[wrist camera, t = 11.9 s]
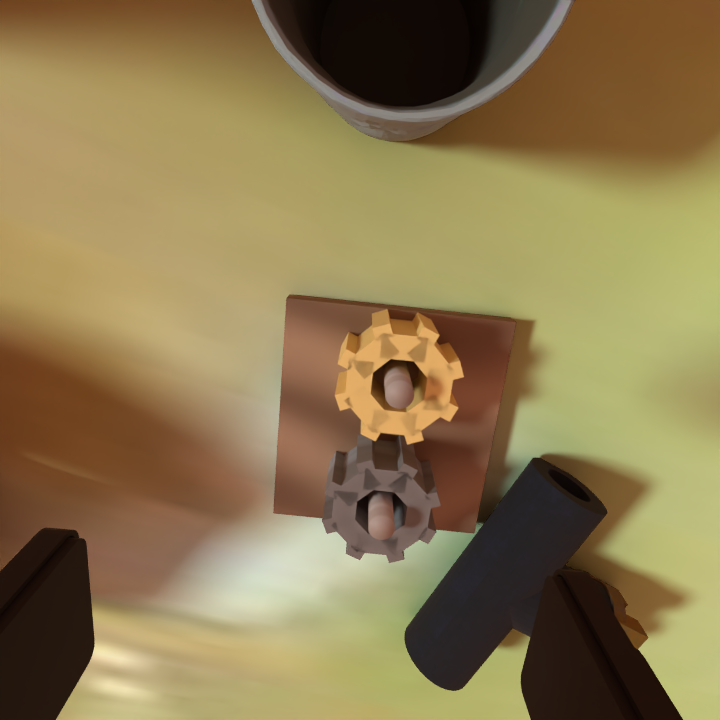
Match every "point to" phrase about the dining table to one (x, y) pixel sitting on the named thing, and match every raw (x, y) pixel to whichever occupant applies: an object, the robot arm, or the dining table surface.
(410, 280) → the dining table surface
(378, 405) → the ochre gear
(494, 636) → the pipe connector
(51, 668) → the robot arm
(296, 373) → the board
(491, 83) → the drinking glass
